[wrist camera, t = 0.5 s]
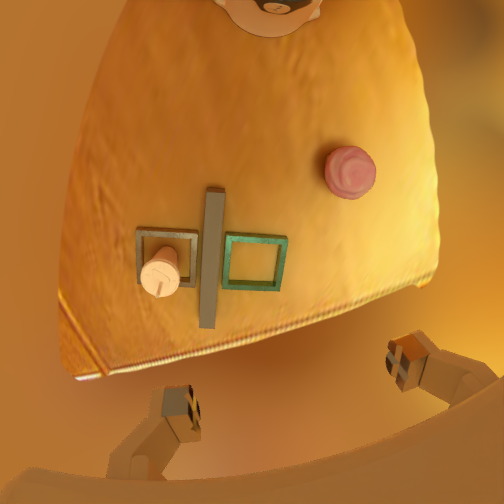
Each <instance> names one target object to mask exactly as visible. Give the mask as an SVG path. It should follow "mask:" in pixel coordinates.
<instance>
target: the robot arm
mask: <svg viewBox="0 0 504 504" xmlns="http://www.w3.org/2000/svg"><path fill="white" fill-rule="evenodd" d="M214 2H215V3H216V4H218V5H219V6H220V7H222V8H224V9H225V10H226V11H227V13H228V14H229V16H230V17H231V19H232V20H233V21H234V22H235V23H236V24H237V25H238V26H239V27H240V28H242V29H243V30H245V31H247V32H249V33H251V34H254V35H258V36H262V37H280V36H285V35H288V34H290V33H292V32H294V31H296V30H297V29H298V28H299V27H300V26H302V25H303V24H304V23H305V22H307V21H311V20H314V19H316V18H318V17H319V15H320V6H319V5H320V4H321V2H322V0H214ZM388 349H389V350H390V351H389V352H388V354H387V356H386V361H385V362H386V367H387V370H388V372H389V374H390V375H391V376H393V377H395V378H396V384H397V386H398V387H399V388H400V390H401V391H402V392H405V391H408V390H410V389H413V388H416V387H418V386H419V388H421V389H423V390H425V391H427V392H429V393H431V394H432V395H434V396H436V397H438V398H440V399H442V400H444V401H445V402H448V403H449V404H450V406H449V408H448V409H447V410H445V411H443V412H441V413H440V414H437V415H435V416H433V417H431V418H429V419H427V420H425V421H423V422H421V423H419V424H417V425H414V426H412V427H410V428H407V429H405V430H403V431H400V432H398V433H396V434H393V435H391V436H388V437H386V438H383V439H381V440H378V441H375V442H372V443H370V444H367V445H364V446H361V447H359V448H355V449H352V450H349V451H346V452H343V453H339V454H336V455H332V456H329V457H326V458H322V459H319V460H314V461H310V462H306V463H302V464H298V465H294V466H289V467H284V468H279V469H274V470H269V471H263V472H257V473H251V474H244V475H237V476H228V477H220V478H208V479H196V480H172V481H171V480H170V481H167V480H166V479H165V477H164V476H163V475H162V474H161V473H162V472H163V470H164V469H165V467H166V466H167V464H168V463H169V461H170V460H171V458H172V457H173V455H174V454H175V452H176V451H177V449H178V448H179V446H180V443H188V442H197V441H201V428H200V425H199V423H198V422H199V421H200V419H201V418H200V408H199V404H198V401H197V398H196V397H194V396H193V388H192V386H191V385H178V386H167V387H156V388H155V387H154V388H153V390H152V394H151V401H150V407H149V414H148V418H144V419H143V421H141V423H140V424H139V425H138V426H137V427H136V428H135V429H134V430H133V431H132V432H131V433H130V434H129V435H128V436H127V437H126V438H125V439H124V440H123V442H121V444H120V445H119V446H118V447H117V448H116V449H115V450H114V451H113V452H112V453H111V454H110V458H109V464H108V469H107V474H106V478H98V477H97V478H96V477H89V476H81V475H74V474H68V473H62V472H56V471H51V470H46V469H41V468H37V467H29V468H27V469H25V470H24V471H22V472H21V473H20V474H18V475H17V476H15V477H14V478H13V479H12V480H10V481H9V482H8V483H7V484H6V485H5V486H4V488H3V490H2V491H1V493H0V504H504V376H503V377H501V378H498V377H497V376H496V374H495V373H494V372H493V371H492V370H491V369H490V368H489V367H488V366H487V365H486V364H485V363H483V362H480V361H476V360H473V359H470V358H467V357H464V356H461V355H458V354H455V353H452V352H449V351H446V350H439V349H438V348H437V347H436V345H435V344H434V343H433V342H432V341H431V340H430V339H429V338H428V337H427V336H426V335H425V334H424V333H423V332H422V331H421V330H417V331H415V332H412V333H409V334H407V335H404V336H401V337H398V338H395V339H392V340H390V341H389V343H388Z"/></svg>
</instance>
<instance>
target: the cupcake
mask: <svg viewBox="0 0 504 504" xmlns="http://www.w3.org/2000/svg"><path fill="white" fill-rule="evenodd" d="M375 177H376V167H375V164H374V162H373V160H372V159H371V158H370V156H369V155H368V154H367V153H366V152H365V151H364V150H362V149H361V148H359V147H356V146H345V147H340V148H338V149H336V150H335V151H333V152H332V153H330V154H328V155H327V156H326V158H325V174H324V178H325V180H326V183H327V186H328V188H329V189H330V191H331V192H332V193H333V194H335V195H336V196H338V197H341V198H344V199H350V200H354V199H358V198H360V197H361V196H363V195H364V194H365V193H367V192H368V191H369V190H370V189H371V188H372V186H373V184H374V182H375Z"/></svg>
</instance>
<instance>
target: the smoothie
mask: <svg viewBox="0 0 504 504" xmlns="http://www.w3.org/2000/svg"><path fill="white" fill-rule="evenodd" d="M140 278H141V283H142V285H143V287H144V289H145V290H146V291H147V292H149V293H150V294H152V295H154V296H156V298H159V297H165V296H169V295H171V294H173V293H174V292H175V291H176V290H177V288H178V286H179V283H180V273H179V271H178V264H177V253H176V251H175V250H174V249H173V248H172V247H169V246H165V247H162V248H161V249H160V250H159V251H158V252H157V253H156V254H155V256H154V257H153V258H152V259H151V260H150V261H149V262H147V263H146V264H145V265H144V267H143V269H142V271H141V277H140Z"/></svg>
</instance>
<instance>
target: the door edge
mask: <svg viewBox="0 0 504 504" xmlns="http://www.w3.org/2000/svg"><path fill="white" fill-rule="evenodd" d="M224 202H225V189H220V188H207V192H206V205H205V219H204V234H203V250H202V269H201V290H200V317H199V328H208V329H215V317H216V302H217V287H218V274H219V261H220V248H221V236H222V224H223V213H224Z"/></svg>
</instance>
